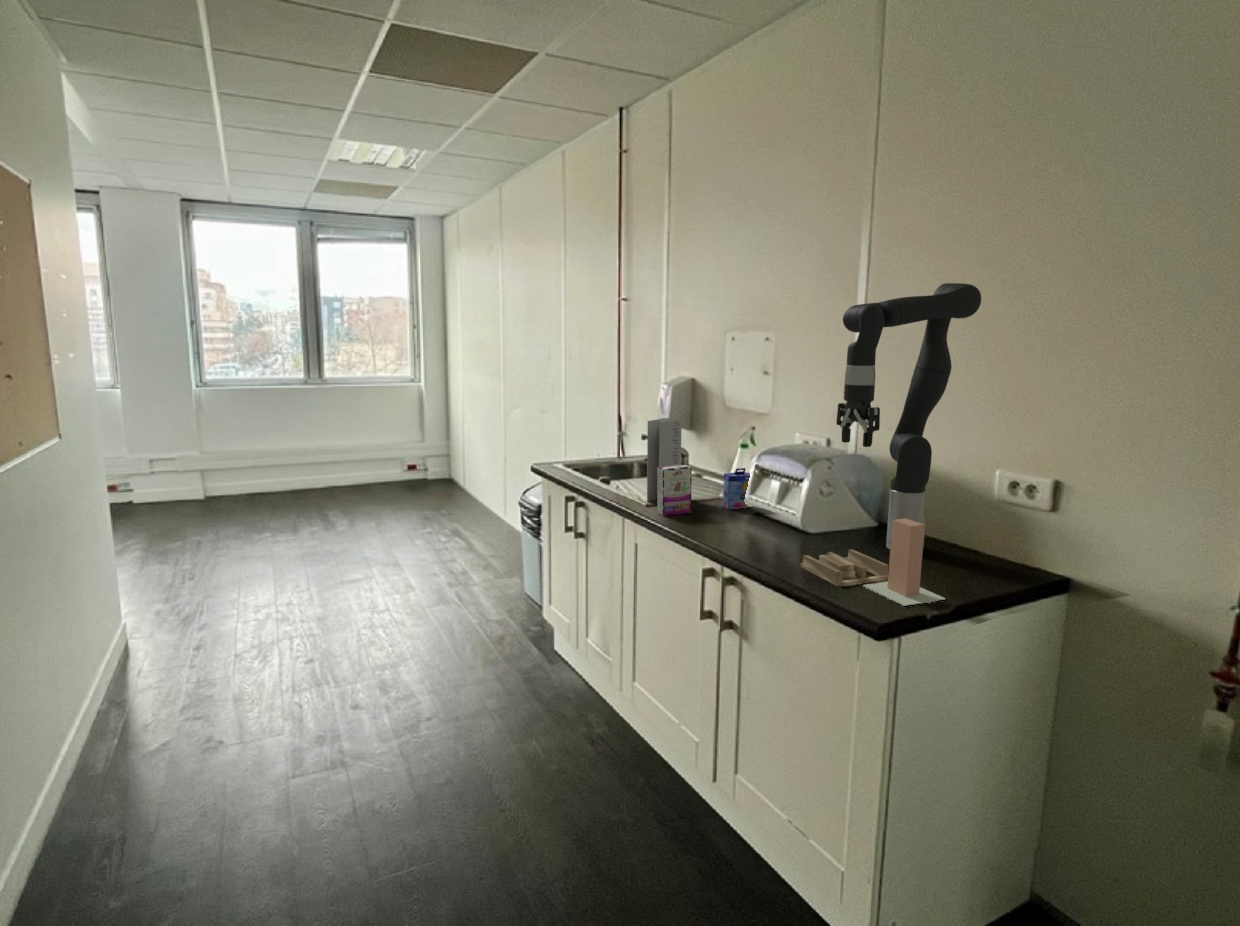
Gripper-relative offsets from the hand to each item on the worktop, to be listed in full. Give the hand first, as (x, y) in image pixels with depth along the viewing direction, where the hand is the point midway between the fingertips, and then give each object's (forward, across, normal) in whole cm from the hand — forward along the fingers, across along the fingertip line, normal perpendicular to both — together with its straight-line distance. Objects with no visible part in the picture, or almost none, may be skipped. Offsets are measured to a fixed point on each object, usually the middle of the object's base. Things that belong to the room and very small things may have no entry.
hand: (856, 444), depth 186 cm
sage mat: (+32, -25, +4) cm, 41 cm away
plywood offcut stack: (+32, -8, +11) cm, 35 cm away
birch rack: (+32, -8, +8) cm, 34 cm away
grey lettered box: (+32, +84, +18) cm, 92 cm away
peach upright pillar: (+32, -25, +4) cm, 41 cm away
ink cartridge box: (+32, +64, -2) cm, 72 cm away
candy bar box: (+32, +64, +23) cm, 75 cm away
